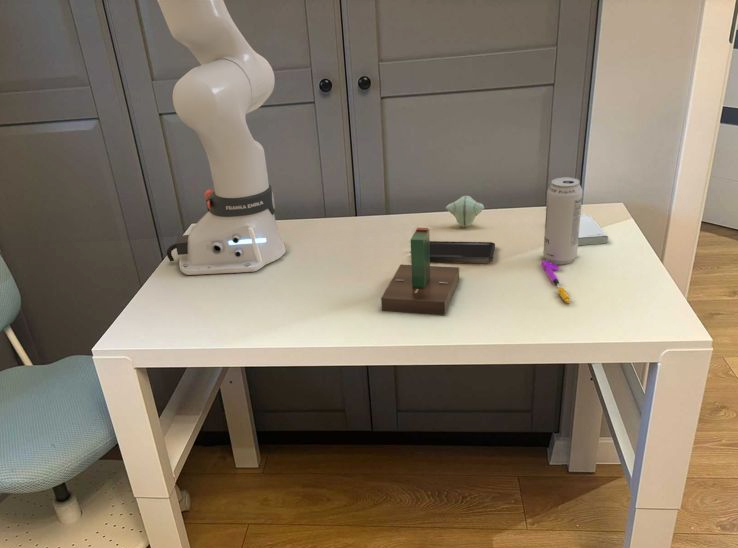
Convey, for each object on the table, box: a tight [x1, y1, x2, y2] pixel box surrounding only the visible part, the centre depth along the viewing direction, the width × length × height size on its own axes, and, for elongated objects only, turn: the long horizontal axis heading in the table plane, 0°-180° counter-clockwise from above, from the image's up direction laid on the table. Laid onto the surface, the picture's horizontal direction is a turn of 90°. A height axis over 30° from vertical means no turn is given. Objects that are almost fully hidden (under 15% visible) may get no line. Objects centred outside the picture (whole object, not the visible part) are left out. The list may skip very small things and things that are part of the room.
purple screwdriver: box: [541, 259, 571, 304], centre depth 125 cm, size 3×1×16 cm
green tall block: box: [409, 227, 431, 288], centre depth 124 cm, size 5×2×9 cm, turn 161°
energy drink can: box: [542, 176, 584, 265], centre depth 130 cm, size 6×6×15 cm
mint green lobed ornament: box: [445, 195, 485, 228], centre depth 151 cm, size 8×4×7 cm, turn 74°
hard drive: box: [578, 213, 609, 246], centre depth 144 cm, size 2×8×12 cm
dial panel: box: [380, 264, 460, 316], centre depth 126 cm, size 14×11×3 cm
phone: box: [430, 240, 496, 264], centre depth 140 cm, size 8×1×15 cm
